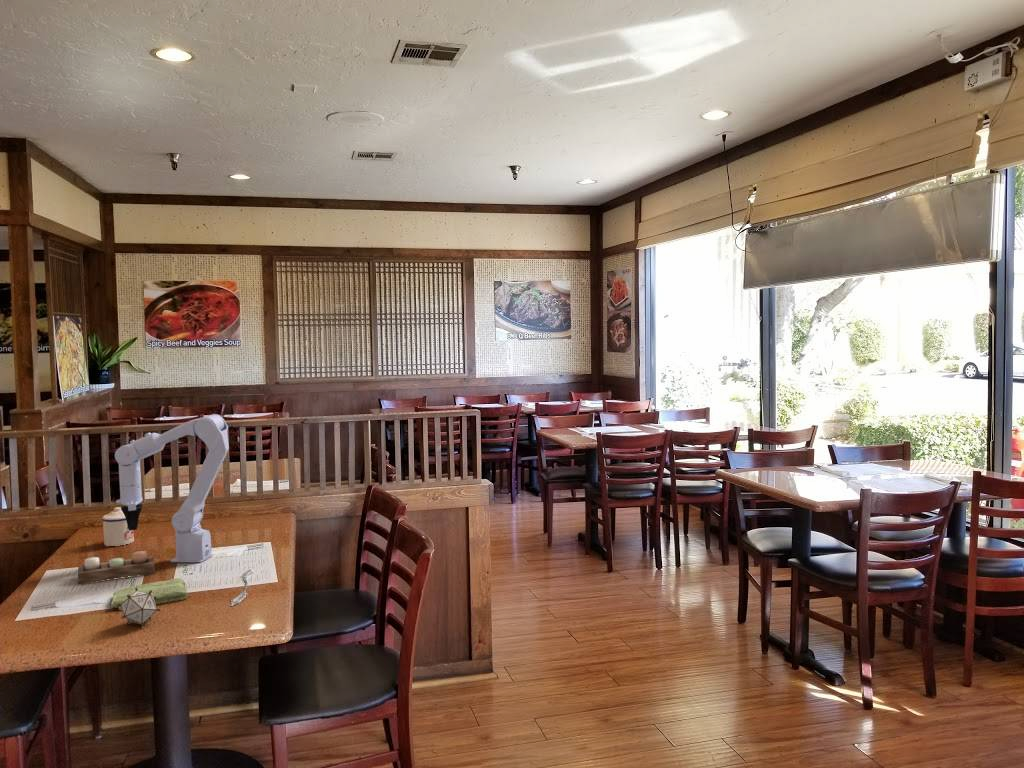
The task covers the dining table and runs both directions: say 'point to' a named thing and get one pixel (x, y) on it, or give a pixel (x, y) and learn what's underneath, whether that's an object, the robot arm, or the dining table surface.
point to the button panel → (115, 571)
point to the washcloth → (154, 592)
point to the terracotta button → (139, 557)
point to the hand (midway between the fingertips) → (132, 529)
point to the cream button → (92, 563)
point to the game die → (139, 607)
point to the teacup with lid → (116, 529)
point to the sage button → (116, 562)
